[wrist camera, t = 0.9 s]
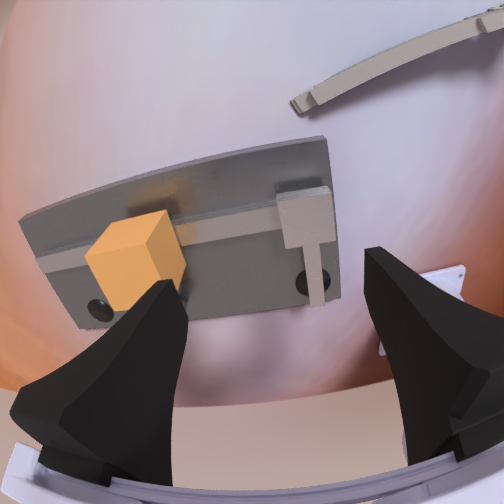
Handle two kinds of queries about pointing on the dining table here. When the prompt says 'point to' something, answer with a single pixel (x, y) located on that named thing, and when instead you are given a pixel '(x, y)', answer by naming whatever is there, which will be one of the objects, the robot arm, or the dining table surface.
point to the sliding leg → (136, 258)
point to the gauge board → (209, 232)
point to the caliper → (399, 57)
